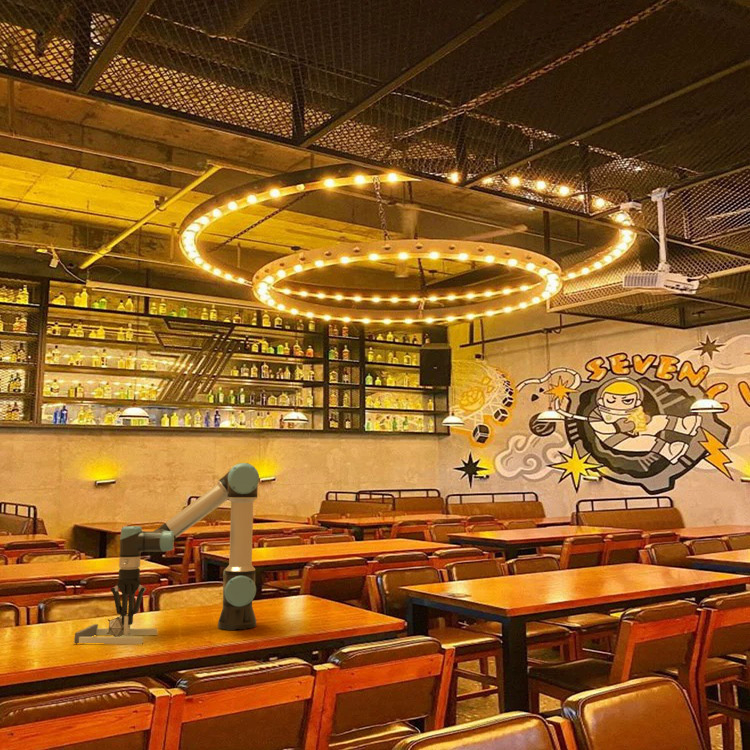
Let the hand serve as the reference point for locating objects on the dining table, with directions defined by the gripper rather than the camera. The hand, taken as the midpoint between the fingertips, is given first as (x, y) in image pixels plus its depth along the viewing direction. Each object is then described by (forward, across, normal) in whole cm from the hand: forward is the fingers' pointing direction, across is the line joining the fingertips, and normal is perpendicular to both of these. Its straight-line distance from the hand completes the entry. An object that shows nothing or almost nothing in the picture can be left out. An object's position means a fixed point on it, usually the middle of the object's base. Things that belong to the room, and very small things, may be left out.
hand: (126, 633), depth 274 cm
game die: (+2, -3, +3) cm, 4 cm away
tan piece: (+2, -4, +1) cm, 5 cm away
